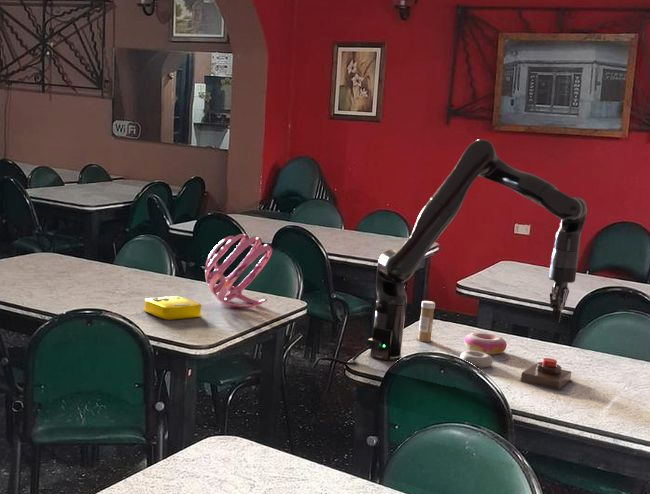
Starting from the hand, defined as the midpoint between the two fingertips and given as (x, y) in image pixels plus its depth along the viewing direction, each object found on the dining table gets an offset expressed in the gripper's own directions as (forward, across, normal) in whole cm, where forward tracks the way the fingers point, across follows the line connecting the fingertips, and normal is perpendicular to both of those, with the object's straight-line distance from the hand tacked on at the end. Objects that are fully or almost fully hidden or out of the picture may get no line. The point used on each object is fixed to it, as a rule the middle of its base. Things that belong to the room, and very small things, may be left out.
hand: (555, 322), depth 253 cm
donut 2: (+18, +2, -22) cm, 28 cm away
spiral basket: (+18, -4, -119) cm, 120 cm away
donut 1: (+18, -17, -26) cm, 36 cm away
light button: (+14, 0, 0) cm, 14 cm away
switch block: (+18, +2, 0) cm, 18 cm away
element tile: (+18, +28, -123) cm, 127 cm away
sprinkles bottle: (+18, -13, -46) cm, 51 cm away
